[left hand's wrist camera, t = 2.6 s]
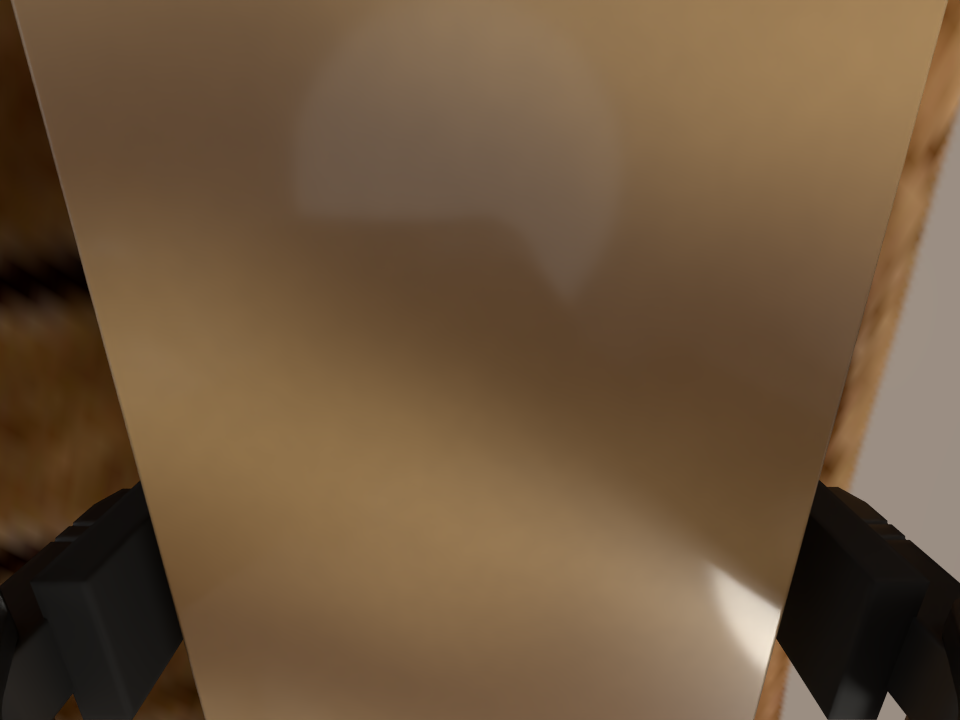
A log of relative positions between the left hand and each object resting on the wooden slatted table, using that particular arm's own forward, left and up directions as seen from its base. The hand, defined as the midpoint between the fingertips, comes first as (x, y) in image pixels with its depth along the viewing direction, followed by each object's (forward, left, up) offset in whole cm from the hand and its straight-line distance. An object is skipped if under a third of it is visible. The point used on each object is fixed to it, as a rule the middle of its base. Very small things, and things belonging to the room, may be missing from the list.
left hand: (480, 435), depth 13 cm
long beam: (+3, +31, -1) cm, 31 cm away
